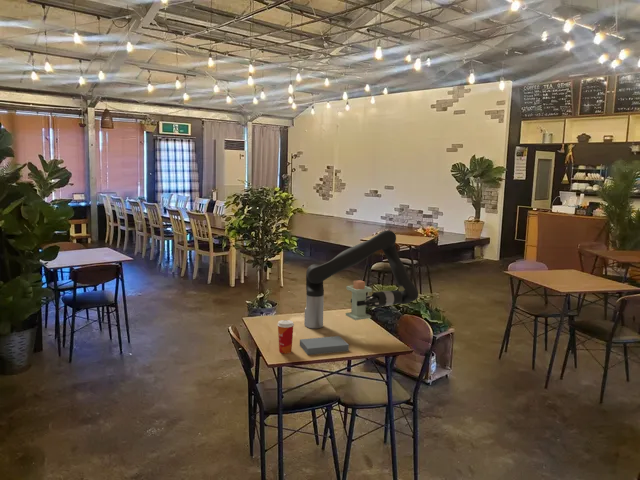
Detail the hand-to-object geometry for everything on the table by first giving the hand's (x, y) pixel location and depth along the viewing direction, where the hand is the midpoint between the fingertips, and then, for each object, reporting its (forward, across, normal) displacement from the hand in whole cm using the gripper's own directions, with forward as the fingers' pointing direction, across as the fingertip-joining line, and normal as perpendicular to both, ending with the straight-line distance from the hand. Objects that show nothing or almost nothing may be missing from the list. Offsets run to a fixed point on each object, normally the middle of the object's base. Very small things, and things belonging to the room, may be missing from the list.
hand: (354, 302), depth 246 cm
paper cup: (+36, 0, +20) cm, 41 cm away
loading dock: (+18, +3, +20) cm, 27 cm away
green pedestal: (-3, 0, +8) cm, 8 cm away
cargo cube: (-3, 0, -6) cm, 7 cm away
